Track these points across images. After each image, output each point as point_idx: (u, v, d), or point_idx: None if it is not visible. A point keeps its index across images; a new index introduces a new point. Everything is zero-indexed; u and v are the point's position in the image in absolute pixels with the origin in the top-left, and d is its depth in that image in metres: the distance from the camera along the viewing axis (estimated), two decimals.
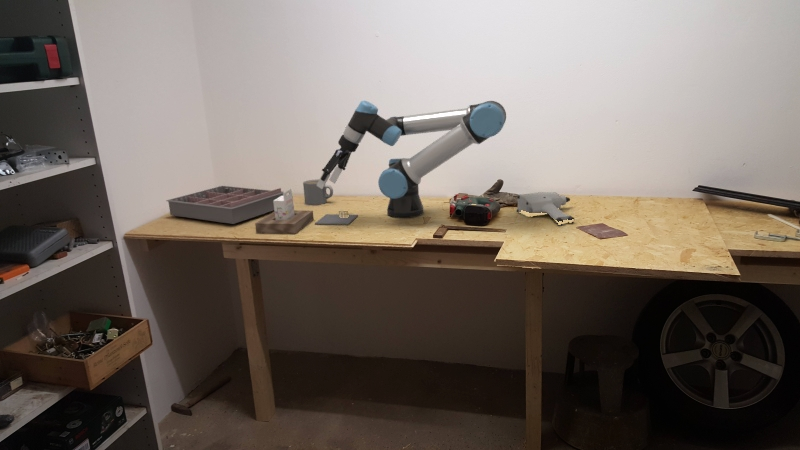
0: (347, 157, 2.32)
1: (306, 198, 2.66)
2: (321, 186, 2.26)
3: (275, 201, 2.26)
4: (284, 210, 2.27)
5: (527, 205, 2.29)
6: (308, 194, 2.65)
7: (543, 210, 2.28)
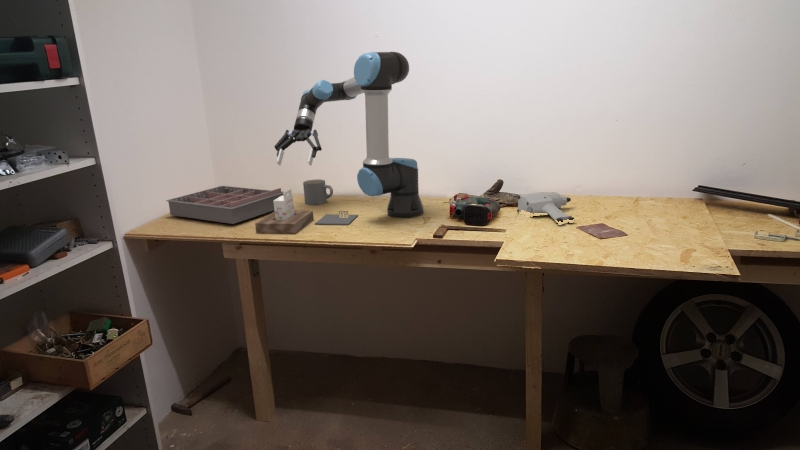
0: (305, 134, 2.45)
1: (306, 198, 2.66)
2: None
3: (275, 201, 2.26)
4: (284, 210, 2.27)
5: (527, 205, 2.29)
6: (308, 194, 2.65)
7: (543, 210, 2.28)
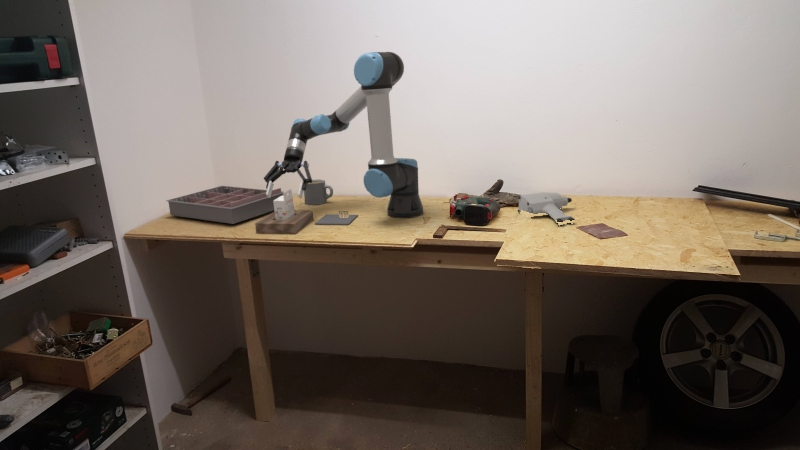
0: (295, 166, 2.38)
1: (306, 198, 2.66)
2: None
3: (275, 201, 2.26)
4: (284, 210, 2.27)
5: (528, 205, 2.28)
6: (308, 194, 2.65)
7: (544, 211, 2.27)
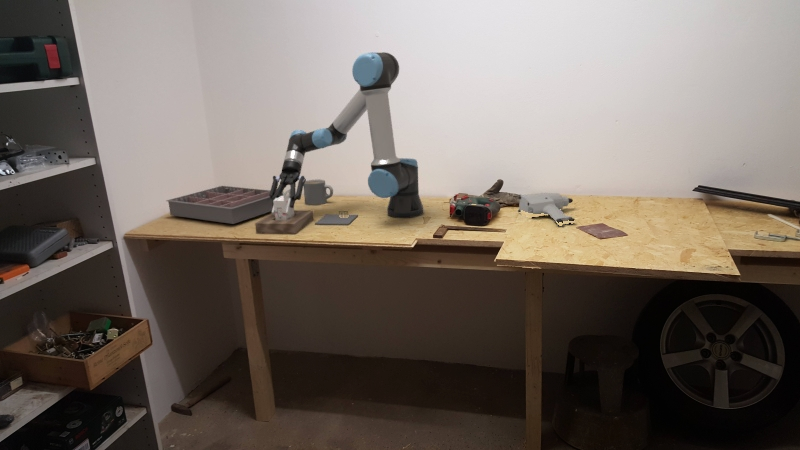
0: (291, 179, 2.33)
1: (306, 198, 2.66)
2: None
3: (275, 201, 2.26)
4: (284, 210, 2.27)
5: (528, 206, 2.28)
6: (308, 194, 2.65)
7: (544, 211, 2.27)
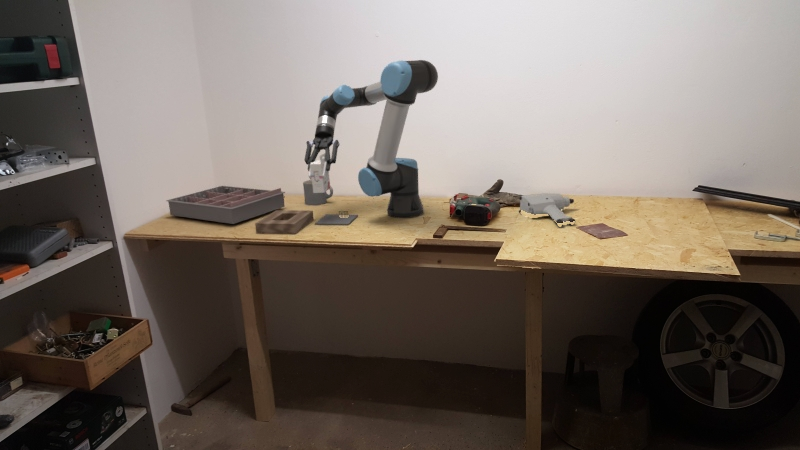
0: (326, 143, 2.35)
1: (306, 198, 2.66)
2: None
3: (311, 165, 2.28)
4: (321, 173, 2.29)
5: (528, 206, 2.27)
6: (308, 194, 2.65)
7: (545, 211, 2.26)
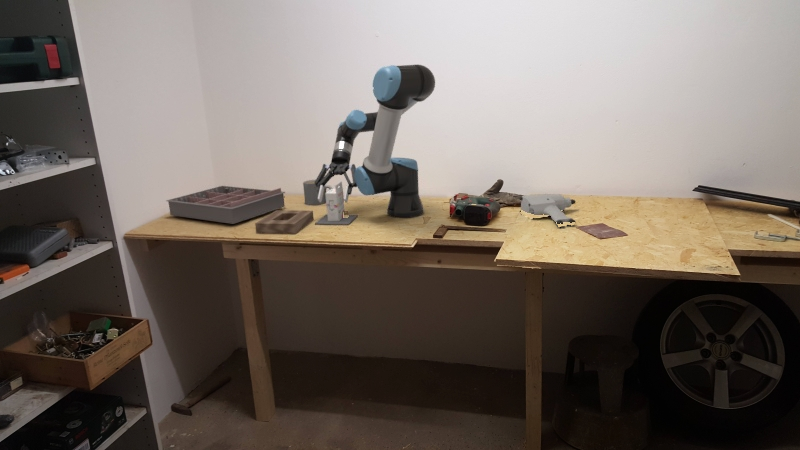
0: (343, 168, 2.38)
1: (306, 198, 2.66)
2: None
3: (327, 194, 2.32)
4: (336, 202, 2.32)
5: (529, 206, 2.26)
6: (308, 194, 2.65)
7: (545, 212, 2.25)
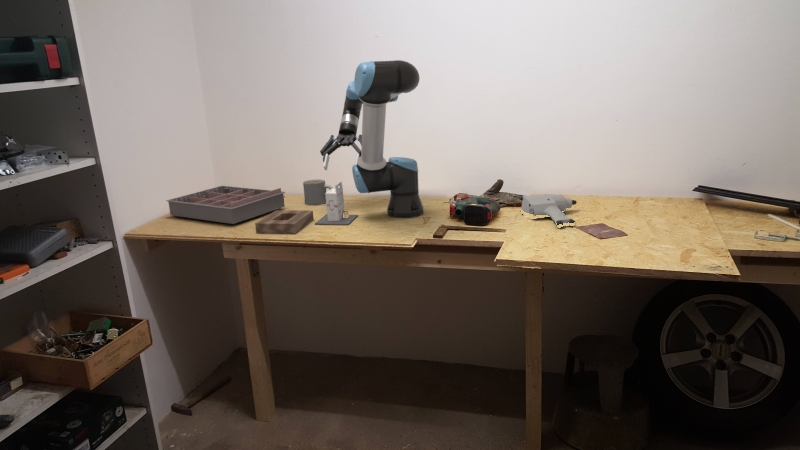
0: (351, 139, 2.47)
1: (306, 198, 2.66)
2: None
3: (327, 194, 2.32)
4: (336, 202, 2.32)
5: (529, 207, 2.26)
6: (308, 194, 2.65)
7: (545, 212, 2.24)
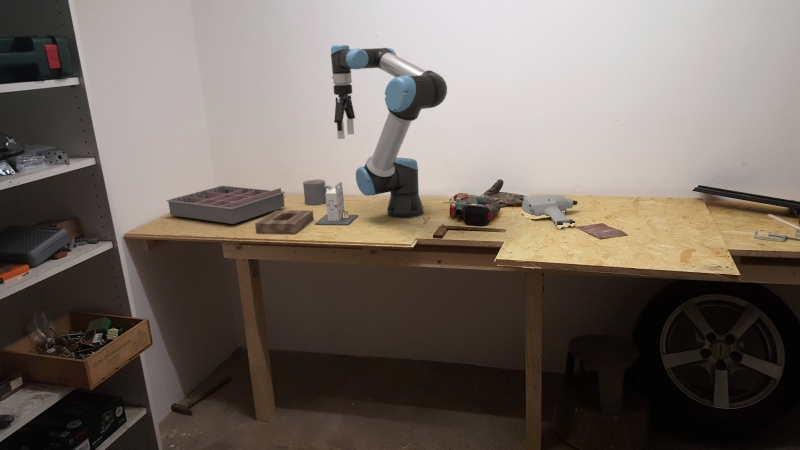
0: (349, 103, 2.44)
1: (306, 198, 2.66)
2: (342, 136, 2.39)
3: (327, 194, 2.32)
4: (336, 202, 2.32)
5: (530, 207, 2.25)
6: (308, 194, 2.65)
7: (546, 213, 2.24)
